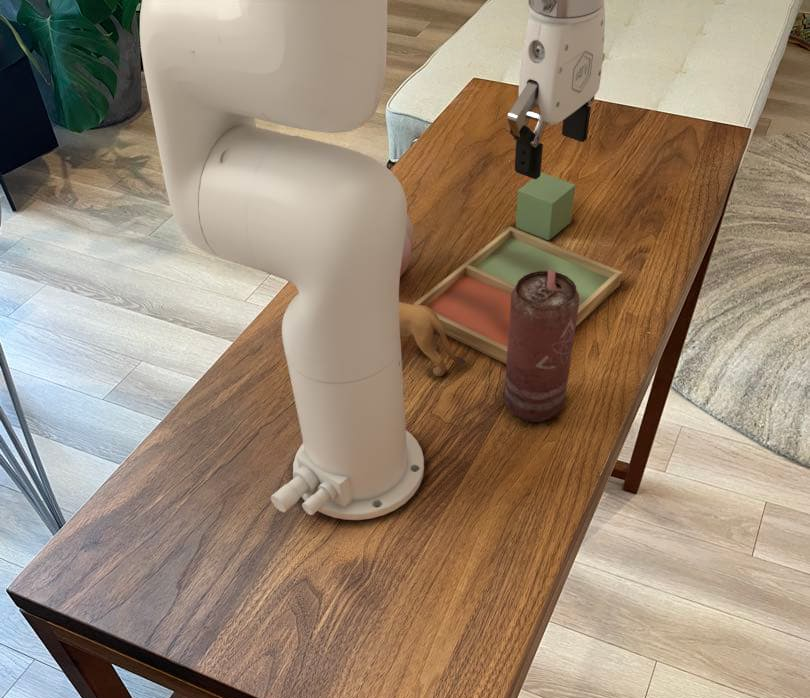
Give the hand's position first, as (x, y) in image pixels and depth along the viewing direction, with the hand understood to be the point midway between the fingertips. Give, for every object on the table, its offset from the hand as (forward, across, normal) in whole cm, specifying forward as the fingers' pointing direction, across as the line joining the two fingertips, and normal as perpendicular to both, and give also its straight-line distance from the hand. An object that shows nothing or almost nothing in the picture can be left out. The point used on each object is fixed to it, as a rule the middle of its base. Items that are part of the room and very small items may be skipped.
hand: (551, 155), depth 97 cm
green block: (+9, 0, 0) cm, 9 cm away
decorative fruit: (+9, -22, +9) cm, 25 cm away
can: (+8, -28, -17) cm, 33 cm away
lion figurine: (+8, -30, -1) cm, 32 cm away
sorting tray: (+8, -15, -6) cm, 18 cm away
